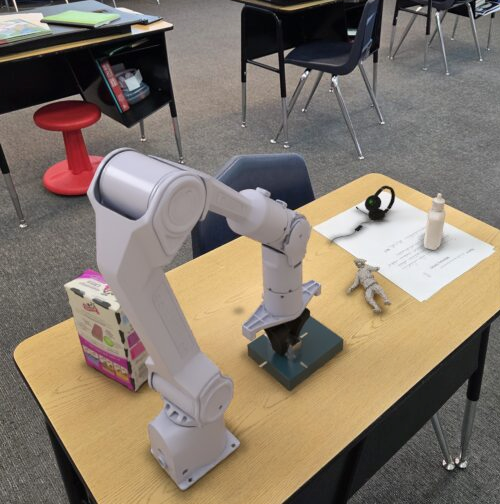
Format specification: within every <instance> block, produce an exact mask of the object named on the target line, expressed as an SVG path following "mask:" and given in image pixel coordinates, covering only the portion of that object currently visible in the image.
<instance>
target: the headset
mask: <svg viewBox="0 0 500 504" xmlns="http://www.w3.org/2000/svg"><path fill="white" fill-rule="evenodd" d="M385 189H386V190H389V191H390V201H389V203H388V205H387V206H386V208H384V209H383V208H381V206H382V199H381V198H380V197H379V196H380V194H381V193H382V192H383V191H384V190H385ZM395 200H396V192H395V189H394V188H393V187H392V186H389V185H383V186H381V187H380V188H378V190H377V191H376V192H375V193H374V194H372V195H370V196H368V197H367V198H366V199H365V201H364V208H365V209H366V210H367V211H368V213H366V212H364V211H362V210H361V209H360V208H359V207H358V206H355V208H356V209H357V210H359V212H361V213H363V214H365V215H367V216H368V218H369V219H370V220H369V221H368V223H369V222H371V221H381V220H384V219H385V218H386V214H387V213H388V212H389V211H390V210H391V209H392V207H393V205H394V203H395ZM366 223H367V221H363V222H362V223H360V224H359V225H358V226H356V228H354V231H355V232H356V231H357V232H359V231H360V230H361V229H362V228H363V227H364V226H363V225H362V224H366ZM353 234H354V232H352V233H350V234H347V235H340V238H344V237H348V236H352V235H353ZM338 238H339V236H336V237H334V238H333V239H332V240H331V241H330V243H332V242H333V241H334V240H335V239H338Z"/></svg>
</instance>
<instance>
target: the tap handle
mask: <svg viewBox="0 0 500 504" xmlns="http://www.w3.org/2000/svg"><path fill="white" fill-rule="evenodd" d="M267 339H268V343H269V344H270V345H271V342H270V340H269V338H268V336H267ZM271 346H272V345H271ZM284 356H285V357H286V358H288V359H289V360H290V361H291V362H293V363H294V362H295V361H297V360H298V359H299V358H301V340H300V339H298V338H297V337H296V336H294V335H293V334H292V333H290V332H289V333H288V335H287V339H286V350H285V354H284Z"/></svg>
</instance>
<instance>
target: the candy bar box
mask: <svg viewBox="0 0 500 504" xmlns="http://www.w3.org/2000/svg"><path fill="white" fill-rule="evenodd" d="M63 287H64V290H65V293H66V297H67V300H68V304H69V308H70V311H71V314H72V315H71V316H72V319H73V322H74V325H75V329H76V332H77V336H78V339H79V343H80V347H81V349H82V353H83V356H84V357H83V358H84V360H85V364H86V365H87V366H88V367H90V368H92V369H94V370H96V371H97V372H99V373H102V374H103V375H105V376H106V377H109V378H110V379H112V380H114V381H115V382H117V383H118V384H120V385H122V386H123V387H126V388H127V389H129V390H131V391H133V392H134V393H135V392H137V391H138V390H140V388H141V387H143V386H144V385H145V384H146V383H148V368H147V366H146V365H145V361H146V359H147V358H148V356H149V354H148V352H147V350H146V349H145V347H144V345H143V344H142V342H141V340H140V339H139V337H138V335H137V334H136V332H135V330H134V328H133V327H132V325H131V323H130V322H129V320H128V318H127V317H126V315H125V313H124V312H123V310H122V308H121V306H120V305H119V303H118V301H117V300H116V298H115V296H114V295H113V293H112V291H111V290H110V288H109V286H108V284H107V283H106V281H105V279H104V278H103V276H102V274H101V273H99V272H98V271H95V270H94V269H91V268H88V269H86V270H85V271H83V272H82V273H80V274H79V275H77V276H76V277H74V278H73V279H70V281H68V282H67V283H65V284H63Z"/></svg>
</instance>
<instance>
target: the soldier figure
mask: <svg viewBox="0 0 500 504" xmlns="http://www.w3.org/2000/svg"><path fill="white" fill-rule="evenodd" d="M366 262H367V260H366V259H364V258H355V259H353V263H354V264H355V266H356V268H357V272H356V273H355V277H354V282H353V283H352V285H351V286H350V287H349V288H348V289H347V291H346V294H349V295H351V291H353V290H354V289H356V288H357V287H358V286H359V285H361V286H362V287H363V288H364V291H365V294H364V298H365V301H366V302H367V304H368V305H370V306H372V307H373V308H374V309H372V312H373V313H374V314H380V313H381V312H382V313H383V310H382V309H381V308H380V306H378V304H377V302H376V301H375V299H374V296H375V294H377V295H379V296H380V297H381V298H382V299H384V301H383V304H384V306H388V307H390V306H392V301H390V299H389V297H388V296H387V293H386V292H385V291H384V289H383V287H382V286H380V285H379V283H378V282H377V280H376V279H375V275H374V274H373V272H374V273H377V272H379V271H380V270H381V267H380V266H374V265H369V264H366V265H365V263H366Z"/></svg>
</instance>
